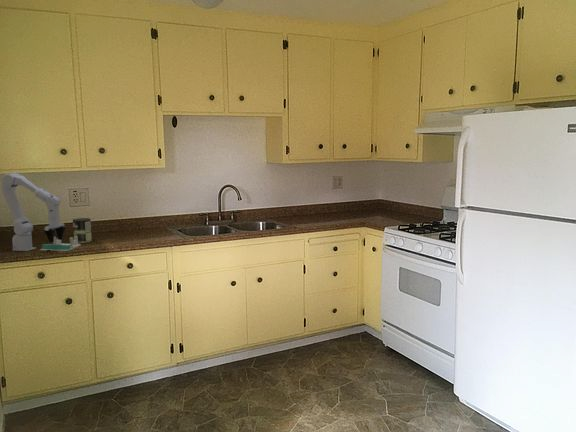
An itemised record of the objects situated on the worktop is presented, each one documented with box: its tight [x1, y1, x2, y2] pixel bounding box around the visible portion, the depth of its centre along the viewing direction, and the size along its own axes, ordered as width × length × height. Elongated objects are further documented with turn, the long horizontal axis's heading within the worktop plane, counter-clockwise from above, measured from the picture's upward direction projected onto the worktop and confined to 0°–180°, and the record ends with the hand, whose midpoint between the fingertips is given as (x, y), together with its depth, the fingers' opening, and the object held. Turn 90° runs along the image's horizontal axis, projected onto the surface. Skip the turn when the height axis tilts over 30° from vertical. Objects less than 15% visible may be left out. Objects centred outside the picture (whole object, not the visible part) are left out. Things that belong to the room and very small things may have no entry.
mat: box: [39, 248, 74, 252], centre depth 262 cm, size 17×6×1 cm, turn 81°
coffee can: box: [72, 217, 93, 244], centre depth 285 cm, size 10×10×14 cm
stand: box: [52, 235, 82, 249], centre depth 270 cm, size 15×7×6 cm, turn 81°
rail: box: [41, 243, 70, 251], centre depth 262 cm, size 16×2×2 cm, turn 81°
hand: (55, 240), depth 261 cm, fingers open, 7 cm apart
